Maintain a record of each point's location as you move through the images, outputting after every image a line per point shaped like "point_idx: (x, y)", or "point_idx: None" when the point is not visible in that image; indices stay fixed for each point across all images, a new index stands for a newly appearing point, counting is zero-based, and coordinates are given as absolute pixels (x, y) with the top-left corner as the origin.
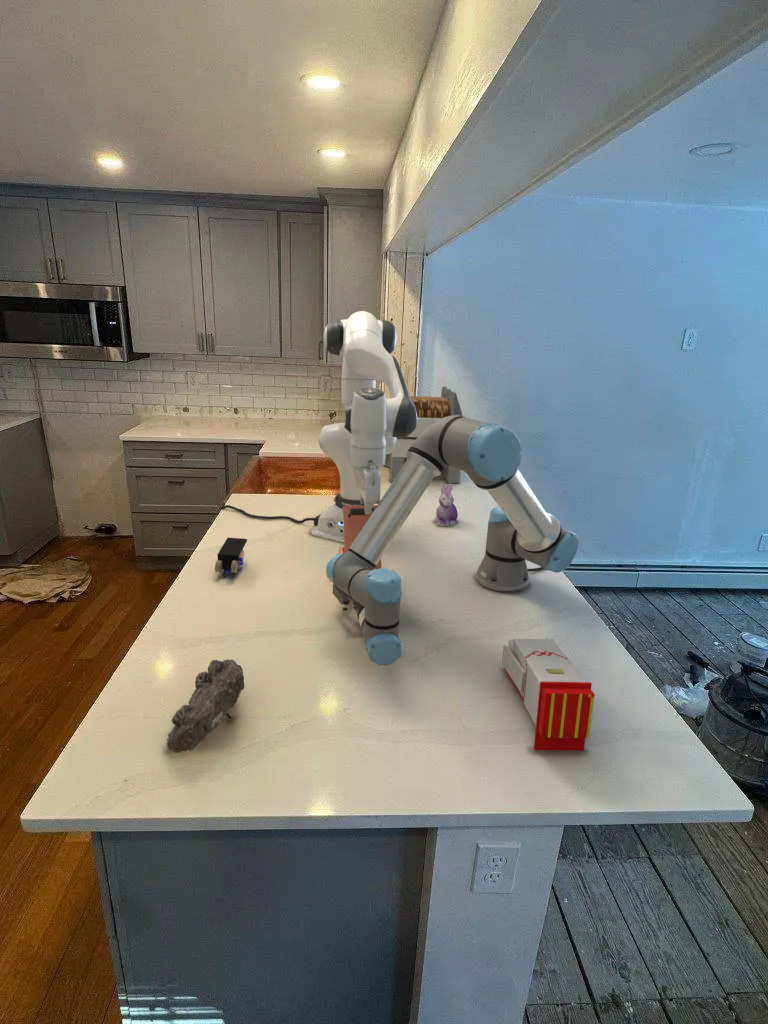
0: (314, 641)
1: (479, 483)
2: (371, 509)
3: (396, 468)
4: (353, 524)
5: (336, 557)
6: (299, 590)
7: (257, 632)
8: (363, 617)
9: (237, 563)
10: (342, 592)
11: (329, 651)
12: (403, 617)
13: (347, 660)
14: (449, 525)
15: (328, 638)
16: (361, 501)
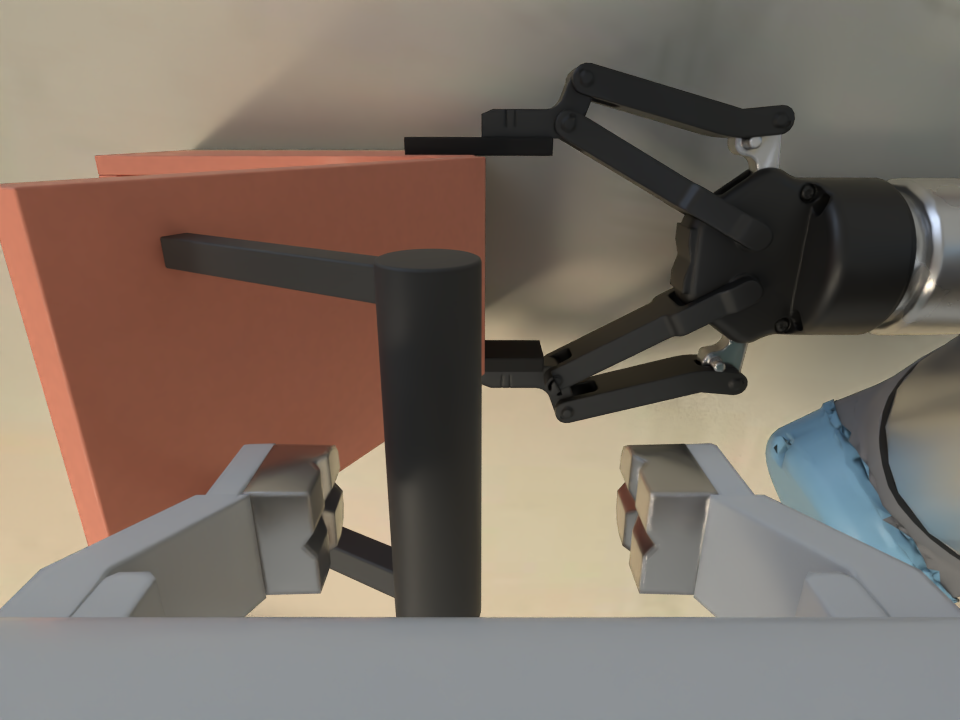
0: (747, 443)
1: None
2: (741, 481)
3: None
4: (285, 428)
5: None
6: (367, 475)
7: (647, 598)
8: (955, 331)
9: None
10: (651, 388)
11: (823, 401)
12: (655, 58)
13: (898, 348)
14: None
15: (741, 398)
16: (329, 567)
